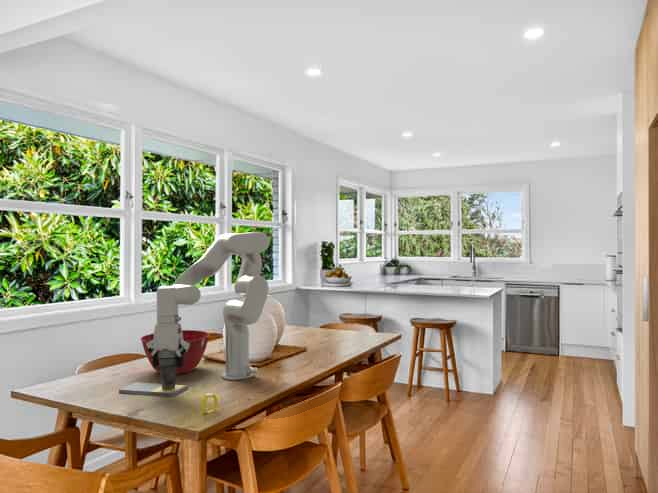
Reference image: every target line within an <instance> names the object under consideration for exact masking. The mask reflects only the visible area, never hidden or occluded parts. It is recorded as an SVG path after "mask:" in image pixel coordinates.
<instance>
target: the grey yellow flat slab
mask: <svg viewBox="0 0 658 493" xmlns="http://www.w3.org/2000/svg"><path fill="white" fill-rule="evenodd" d="M185 390H188V385H185V384H175V389H172V390H162V385H161V383H153V382H152V383H147V382H133V383H131V384H128V385H126V386H124V387H122V388H120V389H119V388H118V394H128V395H129V394H130V395H132V394H133V395H144V396H146V395H147V396H161V397H174V396H176V395H178V394H181V393H182V392H184V391H185Z"/></svg>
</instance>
